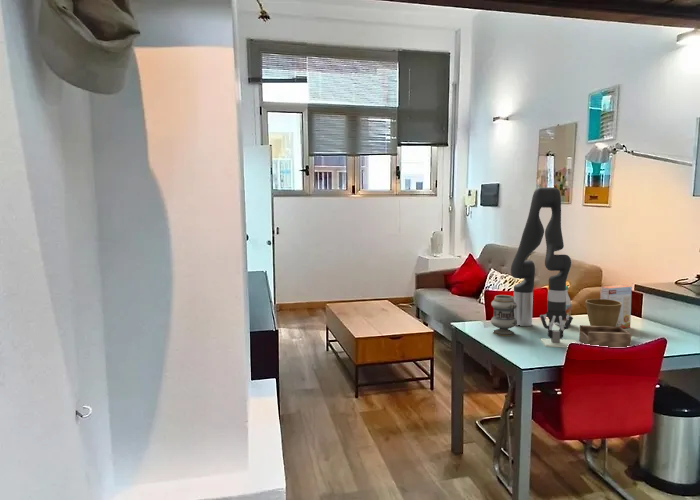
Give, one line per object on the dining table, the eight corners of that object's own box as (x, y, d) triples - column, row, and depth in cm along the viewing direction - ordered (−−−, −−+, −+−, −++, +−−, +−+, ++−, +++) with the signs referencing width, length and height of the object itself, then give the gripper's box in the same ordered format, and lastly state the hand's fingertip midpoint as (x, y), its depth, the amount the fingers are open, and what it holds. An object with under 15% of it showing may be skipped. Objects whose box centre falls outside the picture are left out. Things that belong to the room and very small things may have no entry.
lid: (545, 347, 206) (545, 333, 206) (540, 340, 216) (540, 327, 216) (580, 348, 204) (581, 335, 203) (574, 342, 214) (574, 328, 213)
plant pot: (587, 329, 234) (588, 297, 233) (621, 333, 226) (623, 300, 224) (581, 336, 222) (583, 302, 221) (618, 341, 213) (619, 306, 212)
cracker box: (620, 325, 242) (622, 284, 240) (630, 327, 236) (632, 286, 235) (598, 327, 239) (600, 285, 237) (607, 330, 233) (609, 287, 231)
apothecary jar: (489, 329, 236) (489, 293, 234) (514, 330, 233) (515, 294, 232) (491, 336, 224) (492, 298, 222) (518, 337, 222) (519, 299, 220)
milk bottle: (553, 325, 243) (555, 286, 241) (553, 321, 250) (555, 284, 248) (570, 326, 240) (571, 287, 238) (569, 323, 247) (571, 285, 245)
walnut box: (588, 349, 202) (588, 332, 202) (579, 340, 215) (579, 325, 214) (630, 350, 199) (631, 334, 199) (618, 342, 212) (619, 326, 211)
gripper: (541, 301, 206) (540, 339, 208) (576, 301, 204) (574, 341, 205) (537, 297, 214) (536, 335, 215) (571, 298, 211) (570, 336, 213)
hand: (555, 337), depth 210 cm, fingers open, 3 cm apart
